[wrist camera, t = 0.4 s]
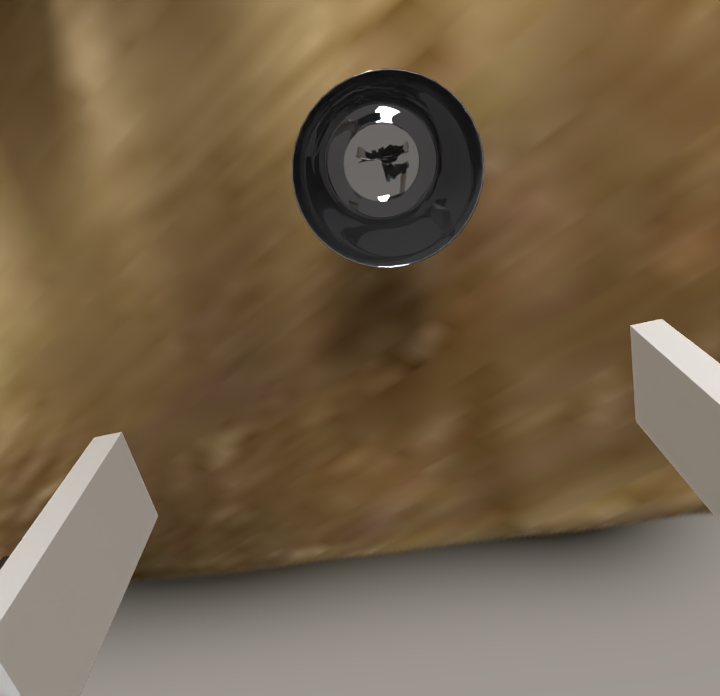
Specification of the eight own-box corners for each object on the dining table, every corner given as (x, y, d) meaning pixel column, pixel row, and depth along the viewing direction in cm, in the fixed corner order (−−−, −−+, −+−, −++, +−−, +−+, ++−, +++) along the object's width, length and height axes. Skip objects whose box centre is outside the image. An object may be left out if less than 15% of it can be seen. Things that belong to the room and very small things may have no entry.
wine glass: (342, 52, 38) (345, 27, 24) (456, 117, 39) (522, 129, 25) (286, 174, 40) (259, 216, 26) (395, 230, 42) (424, 298, 28)
